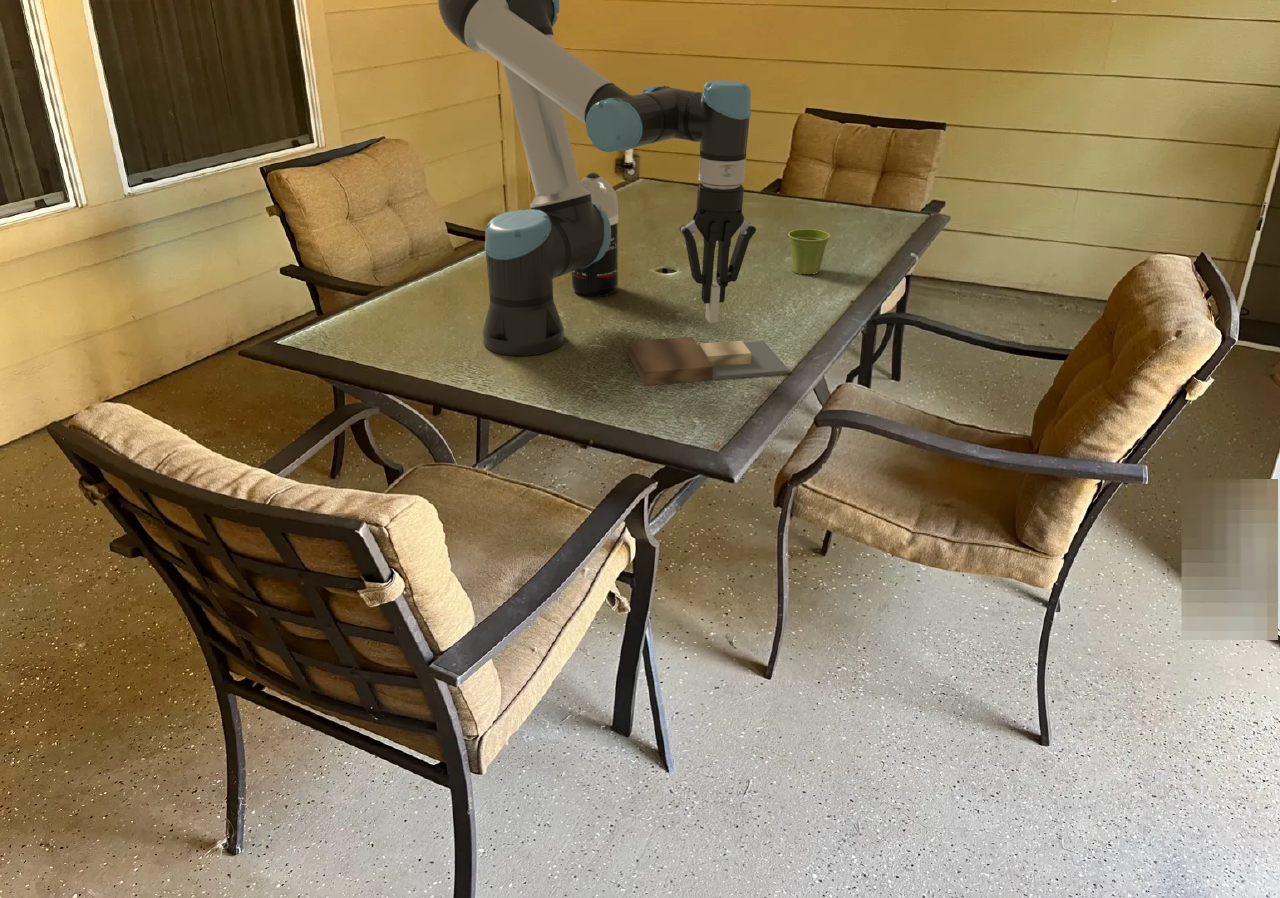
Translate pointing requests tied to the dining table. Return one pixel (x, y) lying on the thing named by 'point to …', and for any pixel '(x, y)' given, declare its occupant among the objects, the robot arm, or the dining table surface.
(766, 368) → the slate mat
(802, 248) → the plant pot
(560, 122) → the robot arm
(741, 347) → the birch tile
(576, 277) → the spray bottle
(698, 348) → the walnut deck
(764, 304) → the dining table surface
